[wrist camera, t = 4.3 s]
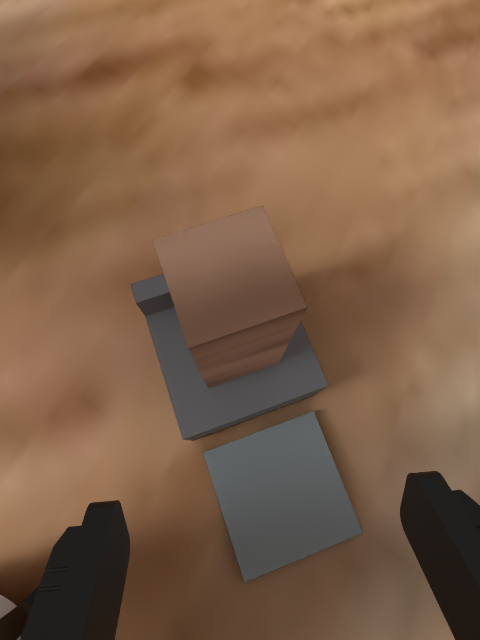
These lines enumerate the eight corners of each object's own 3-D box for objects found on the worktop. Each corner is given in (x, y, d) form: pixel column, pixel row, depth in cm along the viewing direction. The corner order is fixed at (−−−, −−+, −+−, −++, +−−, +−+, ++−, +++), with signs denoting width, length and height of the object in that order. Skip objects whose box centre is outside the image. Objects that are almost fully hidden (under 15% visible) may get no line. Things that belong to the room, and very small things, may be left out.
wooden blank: (185, 319, 25) (152, 239, 15) (252, 296, 25) (262, 205, 16) (207, 388, 23) (188, 348, 14) (279, 362, 24) (307, 307, 14)
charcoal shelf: (155, 322, 30) (130, 284, 23) (267, 285, 31) (276, 237, 24) (192, 440, 27) (176, 438, 20) (312, 395, 28) (338, 378, 21)
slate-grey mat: (203, 452, 27) (203, 452, 26) (311, 411, 28) (313, 411, 27) (244, 579, 25) (244, 582, 24) (360, 530, 26) (363, 532, 25)
